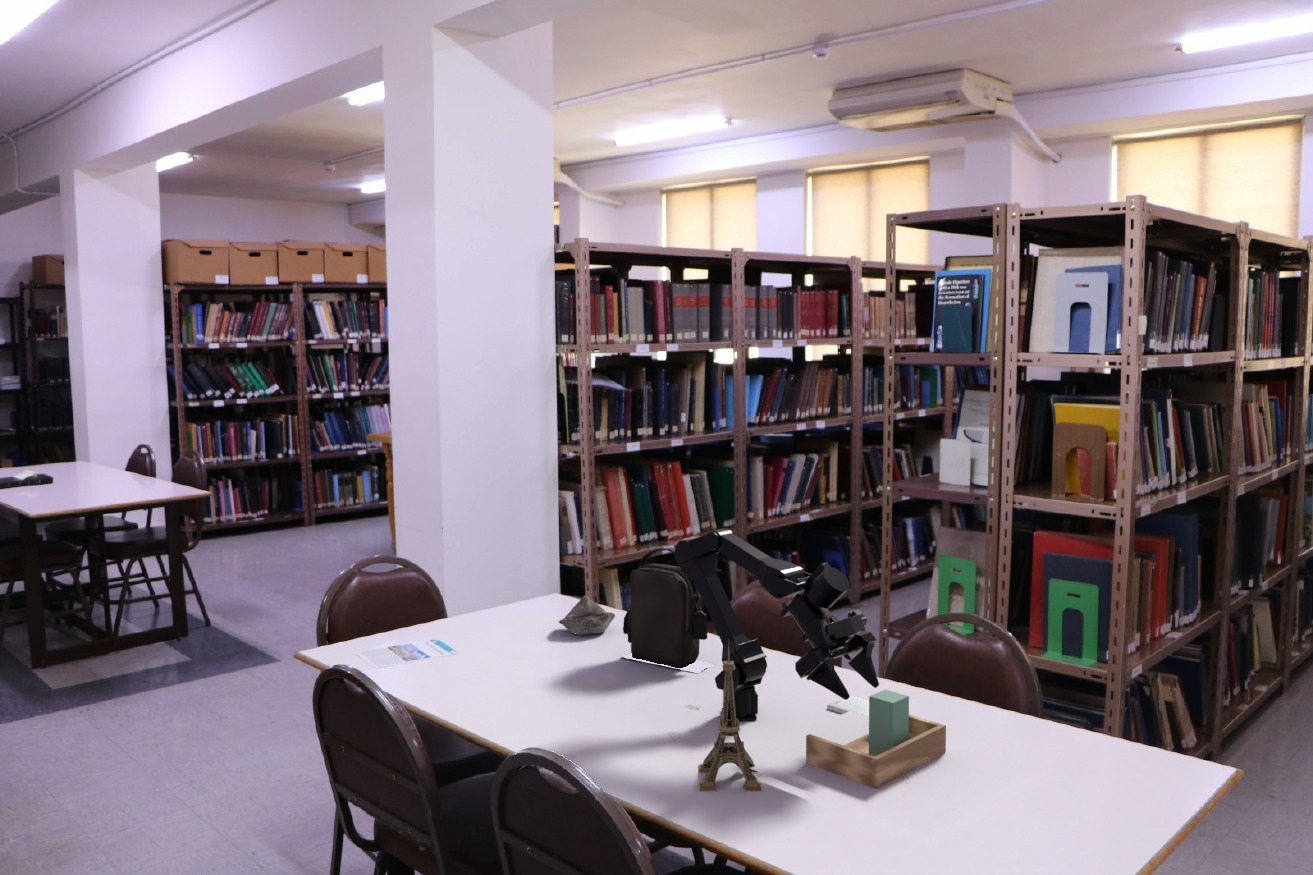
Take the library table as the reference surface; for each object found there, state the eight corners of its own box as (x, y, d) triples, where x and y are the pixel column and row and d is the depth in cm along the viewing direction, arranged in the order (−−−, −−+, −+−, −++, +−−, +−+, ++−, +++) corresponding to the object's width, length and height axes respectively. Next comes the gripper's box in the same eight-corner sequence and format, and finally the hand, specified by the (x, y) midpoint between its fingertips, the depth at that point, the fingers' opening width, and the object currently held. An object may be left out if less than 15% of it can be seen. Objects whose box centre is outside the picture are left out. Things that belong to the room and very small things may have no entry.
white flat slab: (826, 704, 209) (876, 719, 200) (851, 694, 214) (900, 709, 205) (827, 711, 209) (876, 727, 200) (851, 702, 215) (900, 717, 205)
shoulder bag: (717, 664, 240) (717, 549, 238) (697, 674, 233) (697, 555, 230) (640, 649, 253) (639, 540, 250) (619, 658, 245) (617, 546, 243)
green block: (868, 761, 180) (869, 696, 179) (884, 753, 183) (885, 689, 182) (892, 769, 176) (893, 703, 175) (908, 761, 179) (908, 696, 178)
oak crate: (806, 768, 179) (806, 735, 179) (876, 735, 194) (876, 705, 194) (876, 794, 168) (877, 759, 168) (945, 757, 183) (946, 725, 183)
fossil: (552, 638, 264) (551, 600, 263) (565, 624, 278) (565, 588, 277) (608, 640, 261) (608, 602, 260) (619, 625, 275) (619, 590, 274)
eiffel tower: (698, 766, 181) (697, 631, 179) (757, 766, 181) (757, 630, 178) (699, 791, 170) (698, 648, 168) (761, 791, 170) (761, 648, 168)
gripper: (807, 606, 179) (859, 680, 172) (868, 589, 192) (918, 657, 184) (774, 641, 185) (822, 714, 178) (834, 622, 198) (881, 689, 191)
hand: (862, 692), depth 183 cm, fingers open, 9 cm apart
